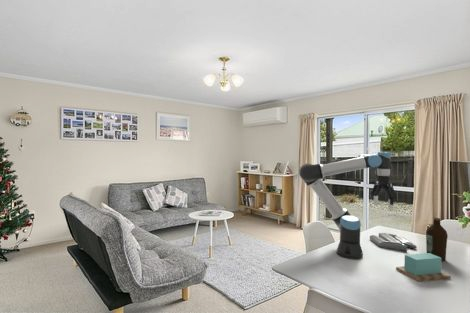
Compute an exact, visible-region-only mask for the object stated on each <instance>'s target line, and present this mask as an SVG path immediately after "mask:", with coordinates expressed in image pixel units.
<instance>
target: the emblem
mask: <svg viewBox="0 0 470 313" xmlns="http://www.w3.org/2000/svg"><path fill="white" fill-rule="evenodd" d="M369 240H370V241H371V242H373V243H374V244H375V245H376V246H378V247H380V248H383V249H388V250H393V251H398V252H404V253H407V252H408V248H409V249H412V250H413V249H414V250H415V249H416V250H417V248H418V247H417V245H416V244H414V243H413V242H411V241H409V240H408V239H406V238H405V237H402V236H401V235H398V234H397V235H396V234H393V233H387V232H382V233H381V232H379V233H378V236H377V235H375V234H371V235H369Z"/></svg>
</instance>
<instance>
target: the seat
mask: <svg viewBox="0 0 470 313" xmlns="http://www.w3.org/2000/svg"><path fill="white" fill-rule="evenodd" d="M395 270H396V271H397V272H400V273H402V274H403V275H404V276H407V277H409V278H411V279H412V280H414V281H416V282H430V281H441V280H449V279H451V278H452V275H451V274H449V273H446V272H443V271H442V270H441V273H435V274H424V275H414V274H412V273H410V272H408V271H406V270H404V266H396V267H395Z"/></svg>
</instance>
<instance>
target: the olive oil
mask: <svg viewBox="0 0 470 313" xmlns="http://www.w3.org/2000/svg"><path fill="white" fill-rule="evenodd" d="M448 237H449V236H448V232H447V230H446V228H444V227H443V226H442V225H441V218H440V217H433V224H431V225H430V226H428V227H427V229H426V231H425V241H426V242H425V243H426V253H431V254H433V255H436V256H438V257H441V262H445V261H446V259H447V258H446V257H447V244H448Z"/></svg>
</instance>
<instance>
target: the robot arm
mask: <svg viewBox="0 0 470 313" xmlns="http://www.w3.org/2000/svg"><path fill="white" fill-rule="evenodd" d="M391 160H392V159H391V153H390V152H389V151H378V152H377V154H359V155H358V156H357V157H353V158H349V159H343V160H339V161H334V162H329V163H325V164H321V163H317V164H316V163H315V164H312V163H304V164H302V165H301V166H300V167H299V170H298V173H299V176H300V178H301V179H302V180H303V181H304V183H305V185H306V186H307V187H309V188H311V190H313V192H314V193H315V194H316V196H317V197H318V199H320V201H321V202H322V203H323V206H325V208H326V209H327V210H328V212H329V213H330V215H331V219H332V221H333V222H334V224H335V225H336V227H337V228H338V229H339V243H338V246H337V247H336V248H337V249H336V254H337V255H338V256H339V257H342V258H345V259H349V260H359V259H360V260H361V259H362V258H363V256H364V252H363V248H362V247H361V246H362V245H361V225H362V224H361V220H360V218H358V217H357V216H354V215H351V213H350V212H349V211H348V210H347V209H346V208H343V206H342V205H341V204H340V203H339V201H338V200H337V199H336V197H335V196H334V195H333V193H332V192H331V190H330V189H329V188H328V186H327V184H325V183H324V181H323V180H322V179H324V178H325V177H327V176H328V177H329V176H333V175H339V174H344V173H347V172H348V173H349V172H354V171H359V170H362V169H363V170H365V169H369V168H376V181H374V185H373V187H372V190H371V192H370V194H371V195H372V197H373V206H379V194H380V192H381V190H383V191H385V193H386V195H387V197H388V203H387V210H389V211H390V210H391V211H392V210H394V202H395V200H397V195H396V192H395V188H394V184H393V183H390V181H391V176H390V175H391Z"/></svg>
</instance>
